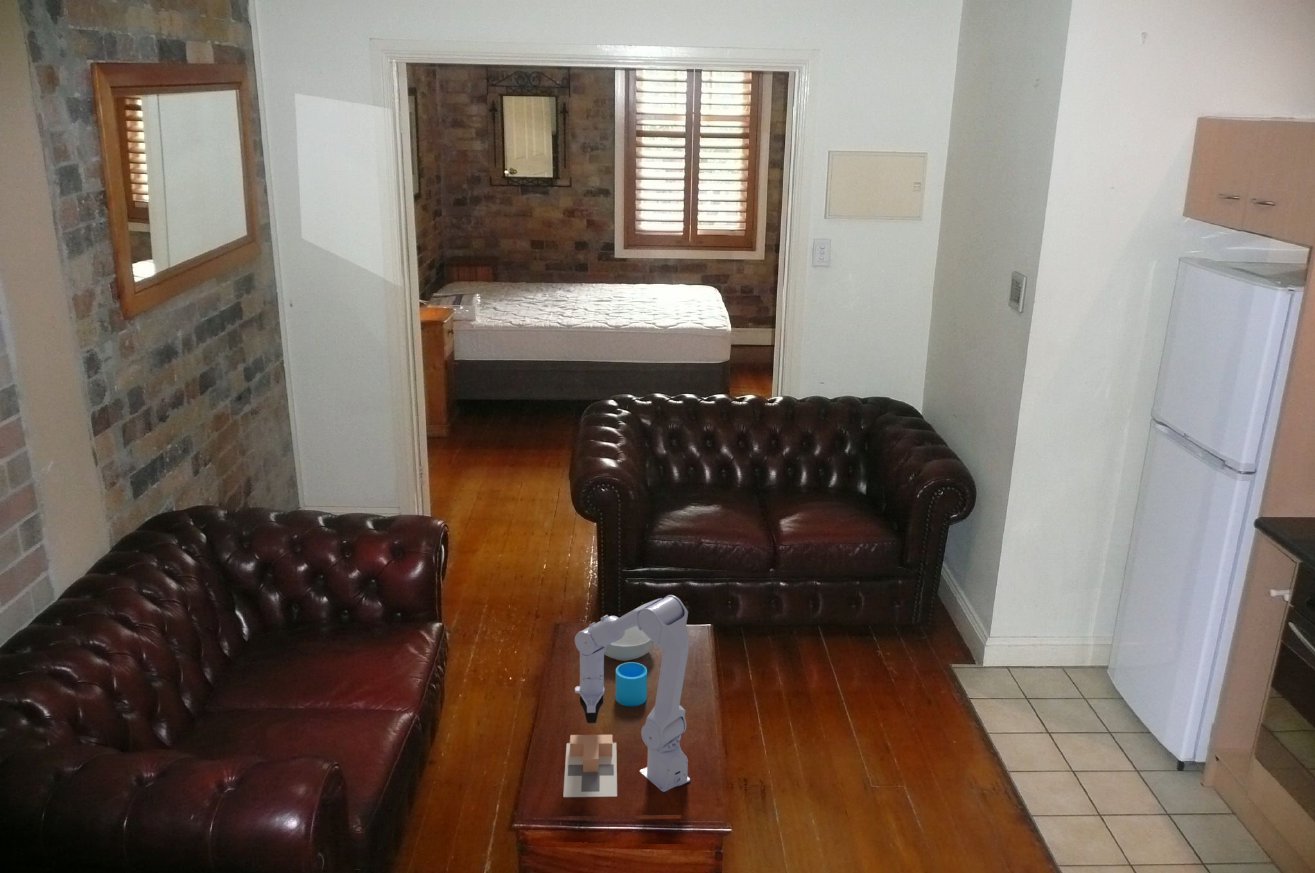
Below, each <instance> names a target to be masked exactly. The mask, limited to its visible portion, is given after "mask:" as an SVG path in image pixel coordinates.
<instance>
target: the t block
mask: <svg viewBox="0 0 1315 873" xmlns="http://www.w3.org/2000/svg"><path fill="white" fill-rule="evenodd" d="M569 738H570V739H569V743H570V756H583V772H598V765H599V756H612V743H613V734H570V737H569Z"/></svg>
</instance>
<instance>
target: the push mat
mask: <svg viewBox="0 0 1315 873" xmlns="http://www.w3.org/2000/svg"><path fill="white" fill-rule="evenodd" d="M565 750H566V751H565V763H564V766H565V767H564V777H563V778H564V779H563V798H596V797H597V798H598V797H599V798H601V797H602V798H603V797H604V798H605V797H607V798H608V797H610V798H611V797H616V798H617V797H618V772H617V770H618V769H617V765H618V762H617V761H618V760H617V758H618V756H617V742H612V756H599V765H598V772H583V756H570V742H567V743H566V748H565Z"/></svg>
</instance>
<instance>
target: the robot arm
mask: <svg viewBox="0 0 1315 873" xmlns="http://www.w3.org/2000/svg"><path fill="white" fill-rule="evenodd" d="M688 615H689V611H688V609H687V608H686V606H685V605H684V603H683V602H682V600H681V599H680V598H679V597H677V596H675V595H673V594H668V595H666V596H665V597H664V598H663V597H660V598H657V599H653V600H651V601H649V602H646V603H644V604H642V605H640V606H638V607H637V608H634V609H633V610H631V611H629V612H627V613H625V614H623V615H621V617H618V616H616V615H610V616H609V615H608V614H606V615H604V616H601V617H600V621H598V622H595V621H594V622H592V623H590V624H589V625H588V627H586V628H584V629H583V630H580V631H578V632H577V633H576V634H575V637H574V644H575V647H576V650H577V651H578V652H579V686H578V685H577V686H576V687H574V693H575V694H579V704H580V706H581V707H582V709H583V711H584V712H583V713H584V715H585V720H586V723H587V724H596V723H597V720H598V716H599V711H600V710H601V707H602V706H603V704H604V693H605V687H604V686H605V685H604V683H605V677H604V676H605V675H604V673H605V670H604V668H605V655H604V653H605V652H606V646H607V645H609V644H611V643H613V642H615V641H617V640H619V639H621V638H622V637H623V636H624V633H625V630H627V629H629V628H631V627H634V626H636V625H637V627H638V629H639V630H643V632H644V633H645V634H646V635H647V636H648V637H649V638H650V639H651V640H652V641H653V642H654V643H653V645H654V644H655V646H656V647H657V648H659V649H662V656H661V662H660V667H659V668H660V670H659V676H658V682H657V689H656V695H655V702H654V706H653V708H652V709H651V711H650V712H649V714H648V715H647V717H646V720H645V724H644V725H643V726H642V727H641V730H640V734H641V739H642V741H643V743H644V745H645V746H646V747H647V766H646V767H643V768H642V769H640V770H639V772H640V774H642V775H643V776H644V777H645V778H646V779H647V780H648V781H650V782H651V783H652V784H653V785H655V786H656V787H657V788H658V789H659V790H660V791H661V792H666V791H669V790H671V789H674V788H675V787H680V786H683V785H685V784H687V783H689V782H690V781H691V778H690V777H689V776H688V771H689V768H688V767H689V765H688V764H689V759H688V756H687V755H686V754H685V753H684V752H683V750H682V748H681V745H680V740H682V734H684V733H685V731H686V730H687V721H686V710H685V708H683V706H682V705H681V699H682V692H683V691H682V690H683V686H684V679H685V674H686V668H687V663H688V655H689V649H690V639H689V633H688V627H687V621H688Z"/></svg>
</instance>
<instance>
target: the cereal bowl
mask: <svg viewBox="0 0 1315 873" xmlns="http://www.w3.org/2000/svg"><path fill="white" fill-rule="evenodd" d="M653 645H654V642H653V641H652V640H651V639H650V638H649V637H648V636H647V635H646V634H645V633H644V632H643V630H639V629H638V627H637V625H636V626H634V627H631V628H629V629H627V630H625V633H624V636H623V637H622V638H621V639H619V640H617V641H615V642H613V643H611V644H609V645H607V646H606V652H605V653H604V656H607V657H608V658H611V659H615V660H617V661H624V662H625V661H628V662H629V661H631V660H635V659H638V658H640V657H643V656H645V655H646V654H647V653H648V652H649V651H651V649H652V648H653Z"/></svg>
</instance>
